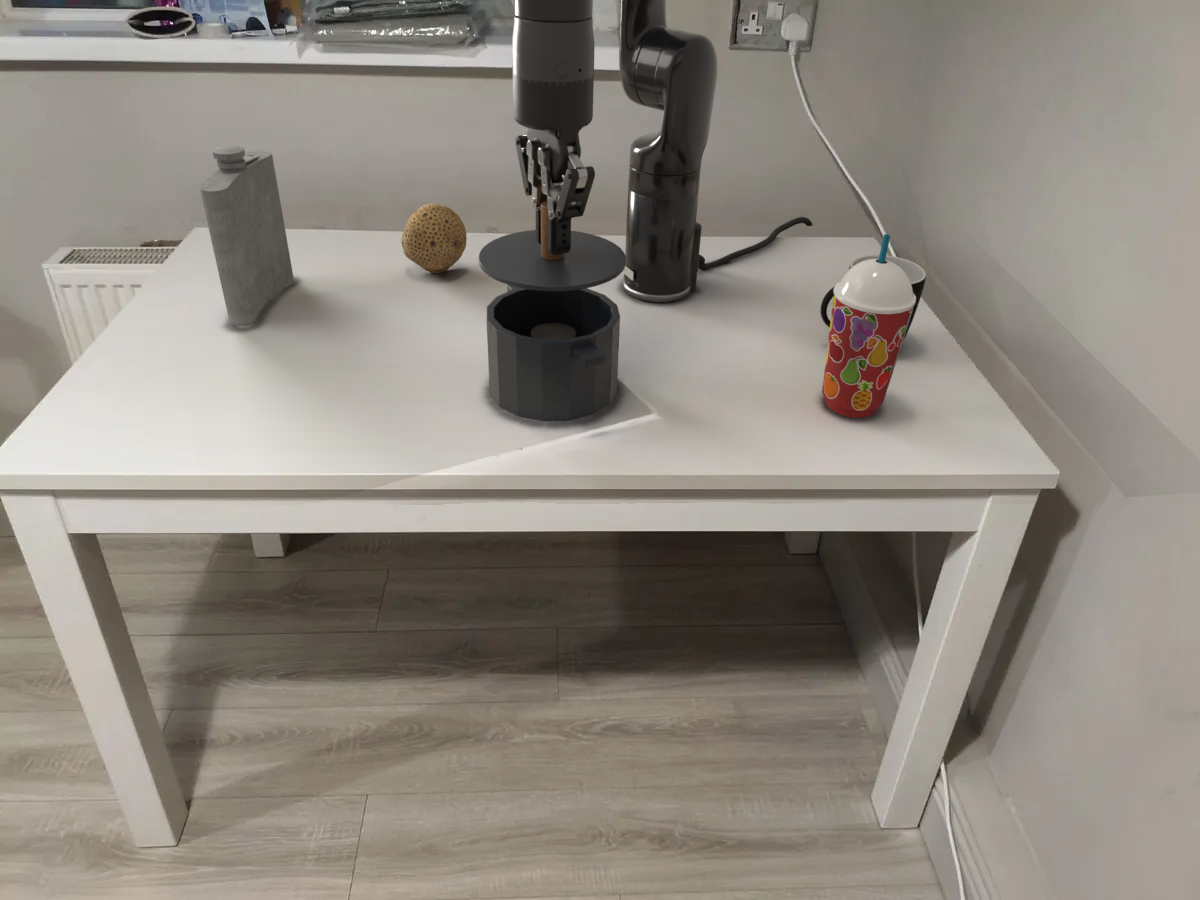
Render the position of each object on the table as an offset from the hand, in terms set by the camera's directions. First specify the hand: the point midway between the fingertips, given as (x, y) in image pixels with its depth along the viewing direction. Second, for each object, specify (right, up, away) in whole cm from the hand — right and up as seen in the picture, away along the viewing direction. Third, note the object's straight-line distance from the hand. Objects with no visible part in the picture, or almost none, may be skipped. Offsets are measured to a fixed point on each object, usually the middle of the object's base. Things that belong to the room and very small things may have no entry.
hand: (552, 246), depth 94 cm
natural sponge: (-18, +4, +35) cm, 40 cm away
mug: (+38, -8, +21) cm, 44 cm away
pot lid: (0, -1, +1) cm, 1 cm away
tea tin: (0, -14, +9) cm, 17 cm away
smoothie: (+33, -16, +9) cm, 38 cm away
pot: (-1, -14, +10) cm, 17 cm away
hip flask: (-40, -2, +26) cm, 48 cm away
